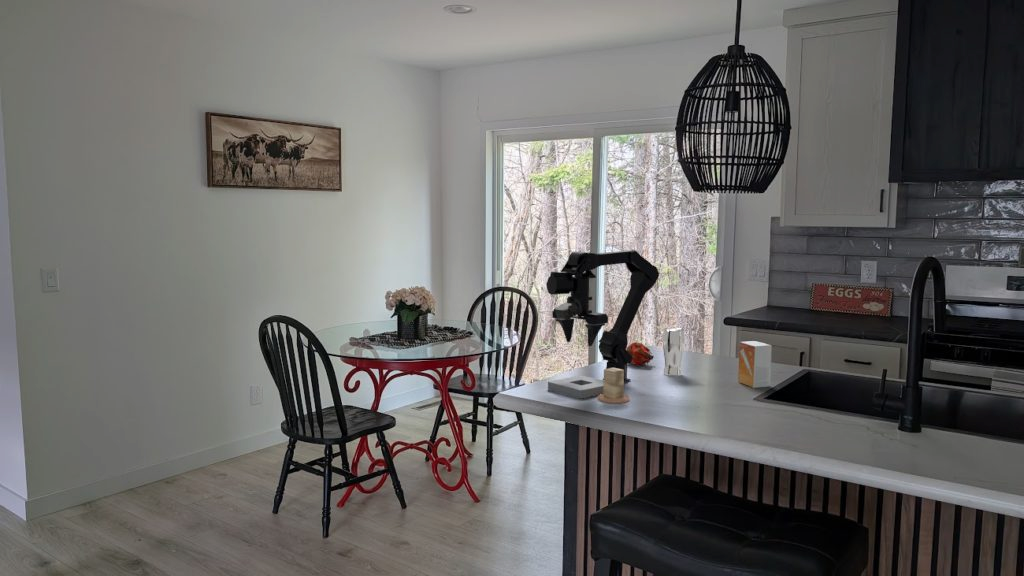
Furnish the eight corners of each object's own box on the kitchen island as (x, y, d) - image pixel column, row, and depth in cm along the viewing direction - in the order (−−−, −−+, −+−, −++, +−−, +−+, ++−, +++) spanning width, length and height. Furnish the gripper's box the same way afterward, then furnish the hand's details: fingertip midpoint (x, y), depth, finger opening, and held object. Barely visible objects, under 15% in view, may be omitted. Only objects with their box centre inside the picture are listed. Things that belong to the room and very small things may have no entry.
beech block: (612, 394, 211) (613, 367, 210) (623, 397, 208) (623, 369, 207) (603, 396, 208) (603, 369, 207) (613, 399, 205) (614, 371, 204)
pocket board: (580, 383, 228) (580, 375, 227) (614, 391, 217) (614, 383, 217) (547, 389, 219) (547, 381, 219) (581, 399, 208) (581, 390, 208)
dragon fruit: (629, 365, 263) (648, 376, 252) (614, 353, 259) (633, 364, 248) (642, 346, 263) (662, 356, 253) (628, 334, 259) (648, 344, 249)
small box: (737, 382, 230) (739, 341, 229) (754, 381, 232) (756, 340, 231) (753, 388, 222) (754, 345, 221) (770, 386, 224) (772, 345, 223)
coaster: (612, 393, 214) (612, 391, 214) (636, 399, 207) (636, 397, 207) (591, 398, 209) (591, 396, 209) (614, 405, 202) (614, 402, 202)
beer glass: (686, 373, 242) (687, 328, 241) (679, 377, 236) (680, 331, 235) (666, 371, 246) (667, 327, 244) (658, 374, 240) (660, 329, 239)
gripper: (539, 292, 223) (539, 342, 225) (583, 297, 209) (582, 351, 211) (565, 290, 230) (565, 338, 232) (609, 295, 216) (608, 347, 218)
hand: (579, 344), depth 223 cm, fingers open, 9 cm apart
